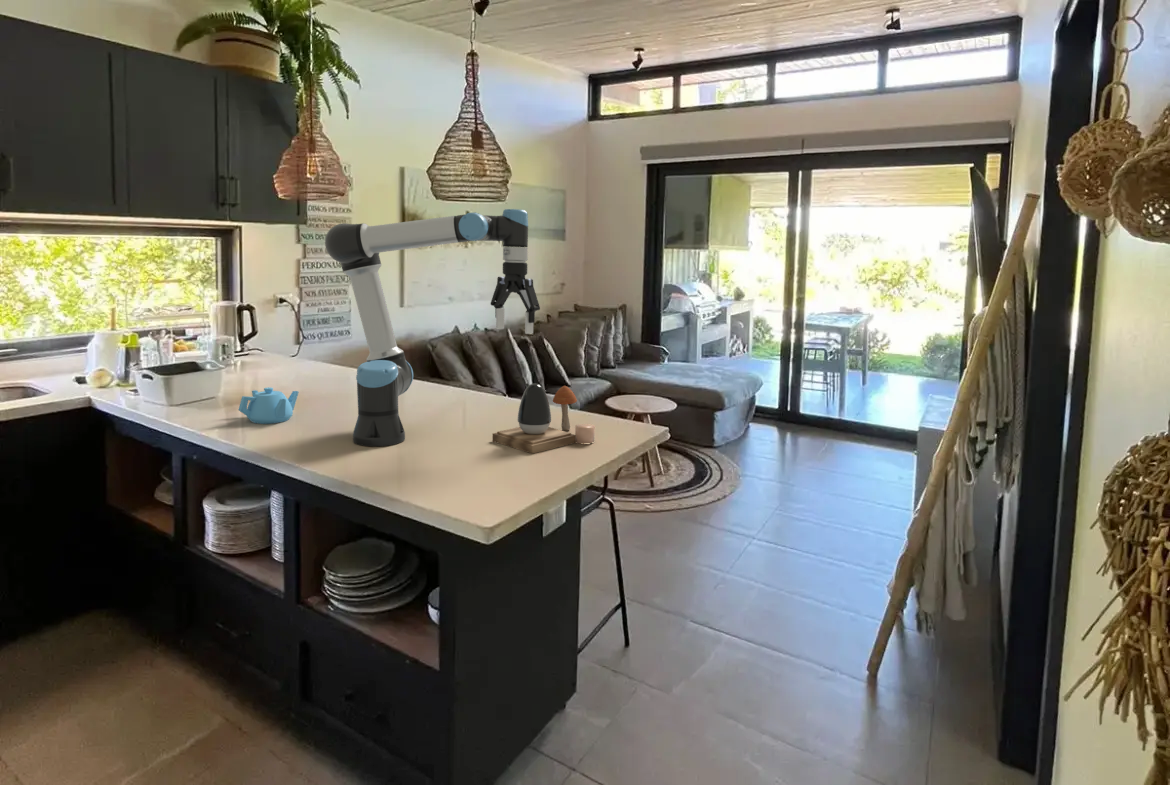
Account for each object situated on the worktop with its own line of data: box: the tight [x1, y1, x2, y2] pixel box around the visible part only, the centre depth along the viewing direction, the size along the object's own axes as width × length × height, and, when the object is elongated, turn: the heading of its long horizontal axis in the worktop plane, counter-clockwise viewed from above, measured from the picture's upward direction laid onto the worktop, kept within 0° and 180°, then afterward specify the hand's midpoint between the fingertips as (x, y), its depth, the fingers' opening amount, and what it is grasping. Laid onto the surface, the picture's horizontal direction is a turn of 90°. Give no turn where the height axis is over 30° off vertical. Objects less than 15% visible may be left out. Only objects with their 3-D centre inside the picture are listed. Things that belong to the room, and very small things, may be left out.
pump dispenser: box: [517, 383, 552, 435], centre depth 218 cm, size 10×10×15 cm
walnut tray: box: [491, 426, 576, 454], centre depth 220 cm, size 18×18×3 cm
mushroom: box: [552, 385, 578, 432], centre depth 233 cm, size 8×8×15 cm
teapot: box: [238, 386, 300, 425], centre depth 237 cm, size 15×15×11 cm
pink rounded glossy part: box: [574, 423, 596, 444], centre depth 222 cm, size 6×6×5 cm
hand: (514, 331), depth 223 cm, fingers open, 13 cm apart
